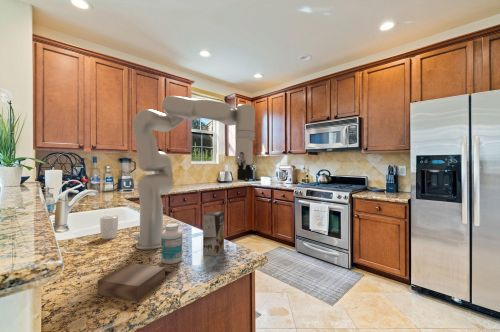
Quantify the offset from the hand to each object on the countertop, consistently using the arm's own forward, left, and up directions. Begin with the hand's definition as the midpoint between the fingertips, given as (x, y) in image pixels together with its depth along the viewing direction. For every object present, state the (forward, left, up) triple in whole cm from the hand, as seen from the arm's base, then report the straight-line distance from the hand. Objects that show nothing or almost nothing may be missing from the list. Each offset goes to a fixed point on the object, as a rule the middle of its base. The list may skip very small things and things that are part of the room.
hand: (245, 179), depth 95 cm
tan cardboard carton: (-25, -28, -31) cm, 49 cm away
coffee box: (-13, +1, -31) cm, 33 cm away
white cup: (-71, +6, -31) cm, 78 cm away
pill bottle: (-25, -12, -31) cm, 41 cm away
